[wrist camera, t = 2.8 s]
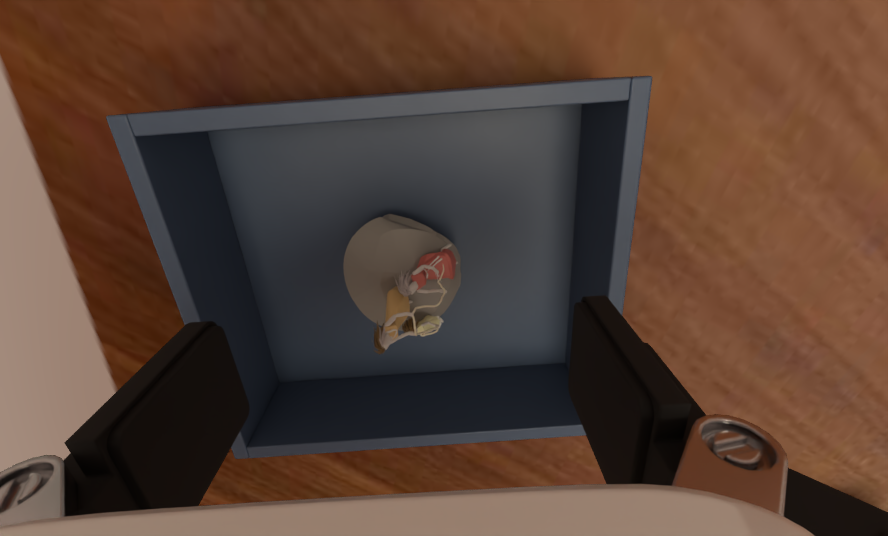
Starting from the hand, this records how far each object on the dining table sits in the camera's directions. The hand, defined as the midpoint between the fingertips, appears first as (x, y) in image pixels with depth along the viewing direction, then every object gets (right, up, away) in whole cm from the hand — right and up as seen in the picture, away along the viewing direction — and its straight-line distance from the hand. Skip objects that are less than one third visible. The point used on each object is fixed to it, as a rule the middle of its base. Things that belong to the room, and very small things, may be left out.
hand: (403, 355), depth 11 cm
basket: (0, +3, +7) cm, 8 cm away
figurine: (0, +3, +7) cm, 7 cm away
